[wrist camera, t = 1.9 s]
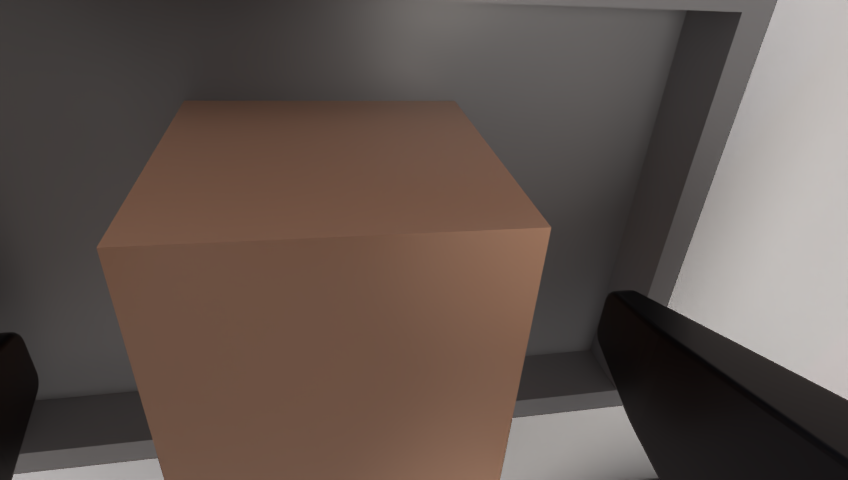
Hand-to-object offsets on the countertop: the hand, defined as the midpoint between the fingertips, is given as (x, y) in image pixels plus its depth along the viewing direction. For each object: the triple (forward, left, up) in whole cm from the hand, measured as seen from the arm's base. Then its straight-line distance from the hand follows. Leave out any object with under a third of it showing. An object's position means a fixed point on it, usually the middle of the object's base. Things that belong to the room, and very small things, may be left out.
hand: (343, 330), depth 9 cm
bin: (0, 0, -4) cm, 4 cm away
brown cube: (0, 0, -4) cm, 4 cm away
